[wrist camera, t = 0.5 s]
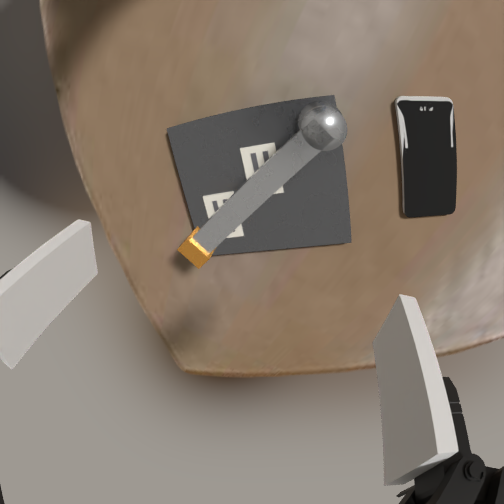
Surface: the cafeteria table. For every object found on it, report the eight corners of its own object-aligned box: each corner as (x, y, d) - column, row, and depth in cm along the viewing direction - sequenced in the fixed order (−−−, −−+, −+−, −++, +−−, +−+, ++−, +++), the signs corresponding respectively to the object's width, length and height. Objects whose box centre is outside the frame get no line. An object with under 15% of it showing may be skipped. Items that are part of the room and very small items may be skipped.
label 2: (240, 148, 32) (239, 148, 32) (274, 142, 31) (274, 142, 31) (251, 196, 35) (250, 197, 35) (283, 191, 34) (283, 192, 34)
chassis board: (170, 127, 33) (149, 133, 29) (337, 94, 28) (343, 93, 23) (205, 252, 42) (192, 273, 37) (354, 237, 36) (359, 259, 32)
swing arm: (322, 97, 24) (324, 97, 21) (351, 128, 25) (357, 131, 22) (185, 234, 34) (174, 247, 31) (210, 256, 35) (201, 271, 32)
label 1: (203, 195, 36) (202, 196, 36) (233, 190, 35) (232, 191, 35) (215, 238, 39) (214, 239, 38) (244, 235, 38) (243, 236, 37)
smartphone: (404, 217, 33) (395, 96, 26) (401, 213, 34) (392, 96, 27) (455, 213, 31) (452, 97, 24) (451, 210, 32) (447, 97, 25)
